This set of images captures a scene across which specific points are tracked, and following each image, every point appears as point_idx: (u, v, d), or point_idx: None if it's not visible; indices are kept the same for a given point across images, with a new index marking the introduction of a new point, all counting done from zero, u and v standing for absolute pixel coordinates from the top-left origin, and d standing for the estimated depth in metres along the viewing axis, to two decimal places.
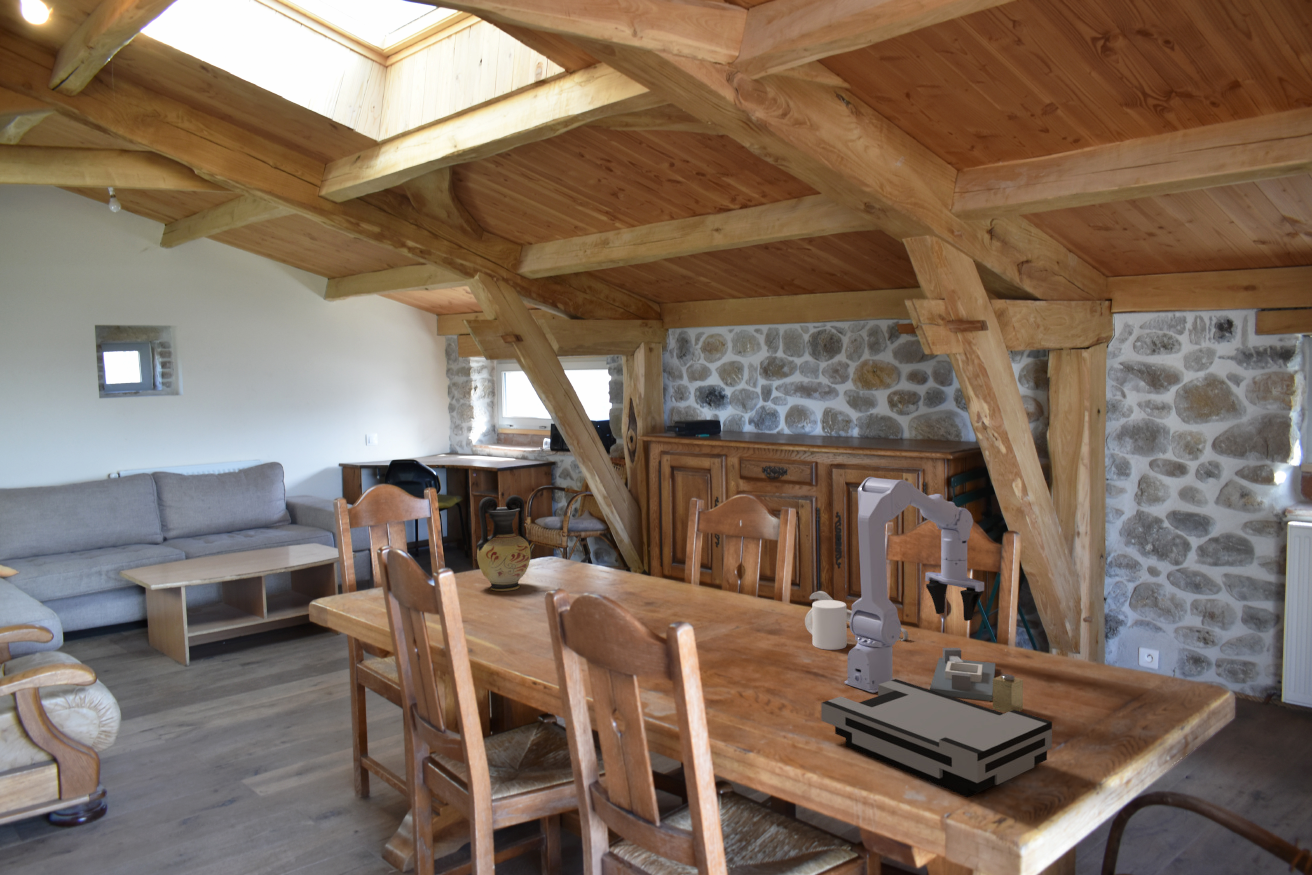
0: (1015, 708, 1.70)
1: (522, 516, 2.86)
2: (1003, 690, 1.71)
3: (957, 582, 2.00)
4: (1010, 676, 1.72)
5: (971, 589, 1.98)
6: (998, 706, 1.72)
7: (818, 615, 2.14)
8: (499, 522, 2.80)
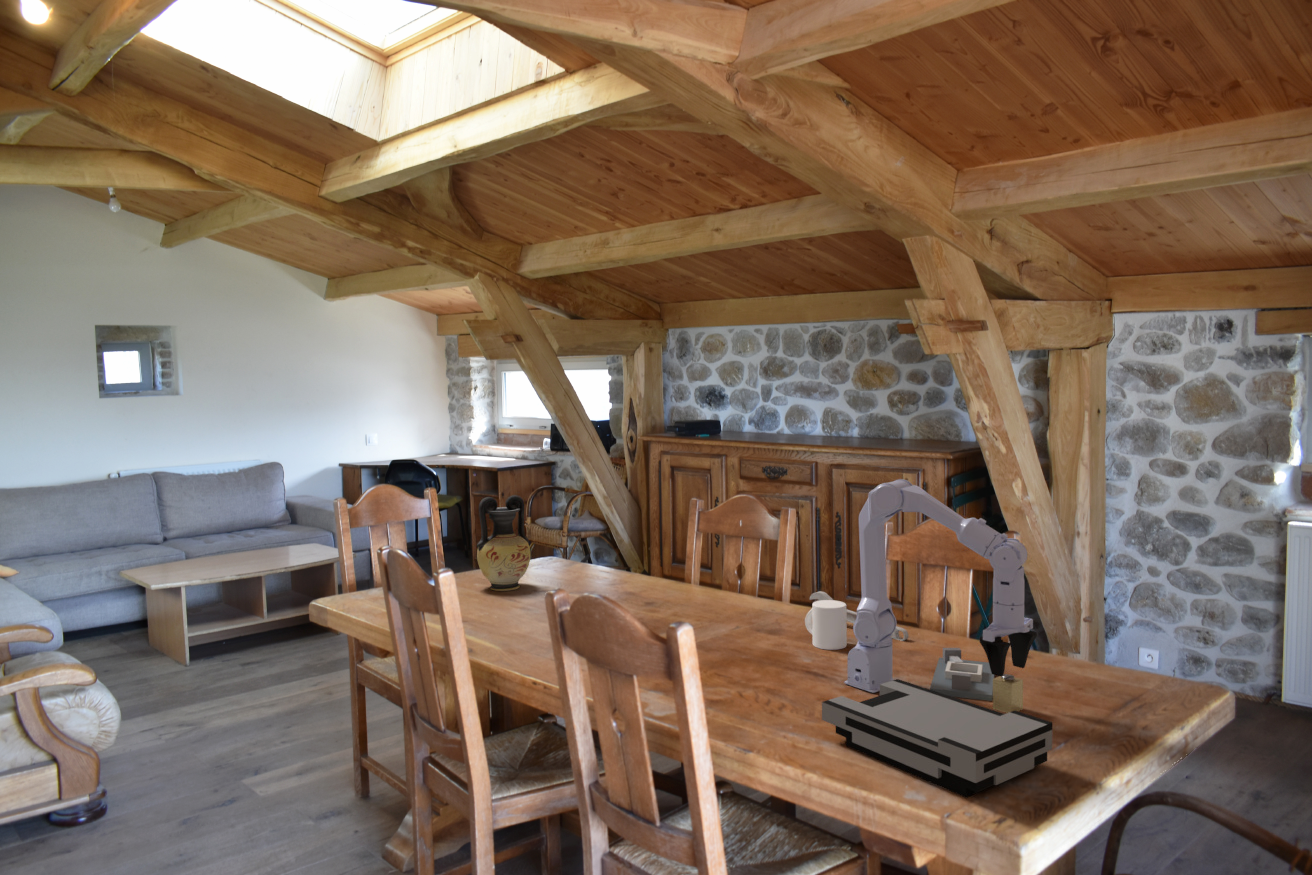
0: (1015, 708, 1.70)
1: (522, 516, 2.86)
2: (1003, 690, 1.71)
3: None
4: (1010, 676, 1.72)
5: None
6: (998, 706, 1.72)
7: (818, 615, 2.14)
8: (499, 522, 2.80)
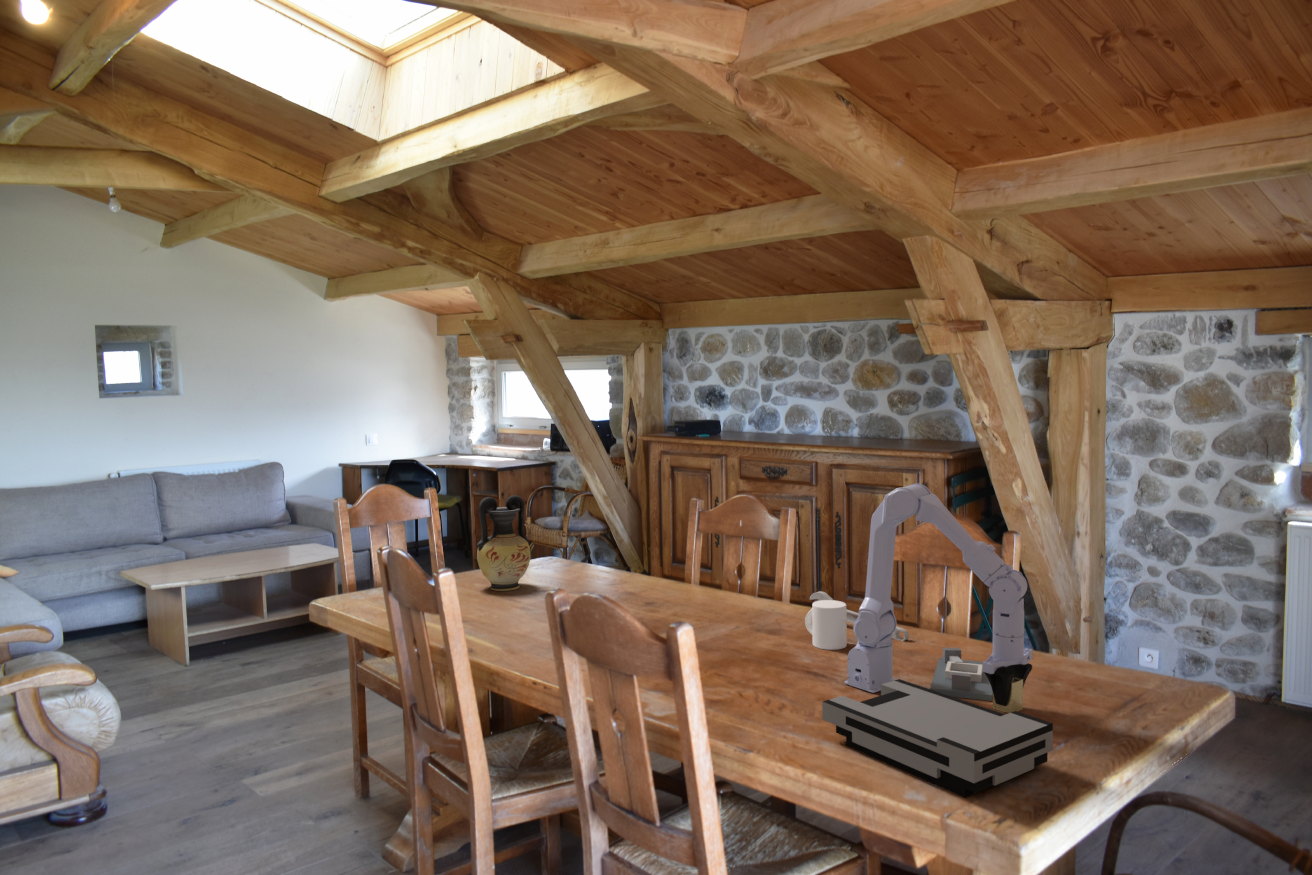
0: (1015, 708, 1.70)
1: (522, 516, 2.86)
2: None
3: None
4: None
5: None
6: (998, 706, 1.72)
7: (818, 615, 2.14)
8: (499, 522, 2.80)
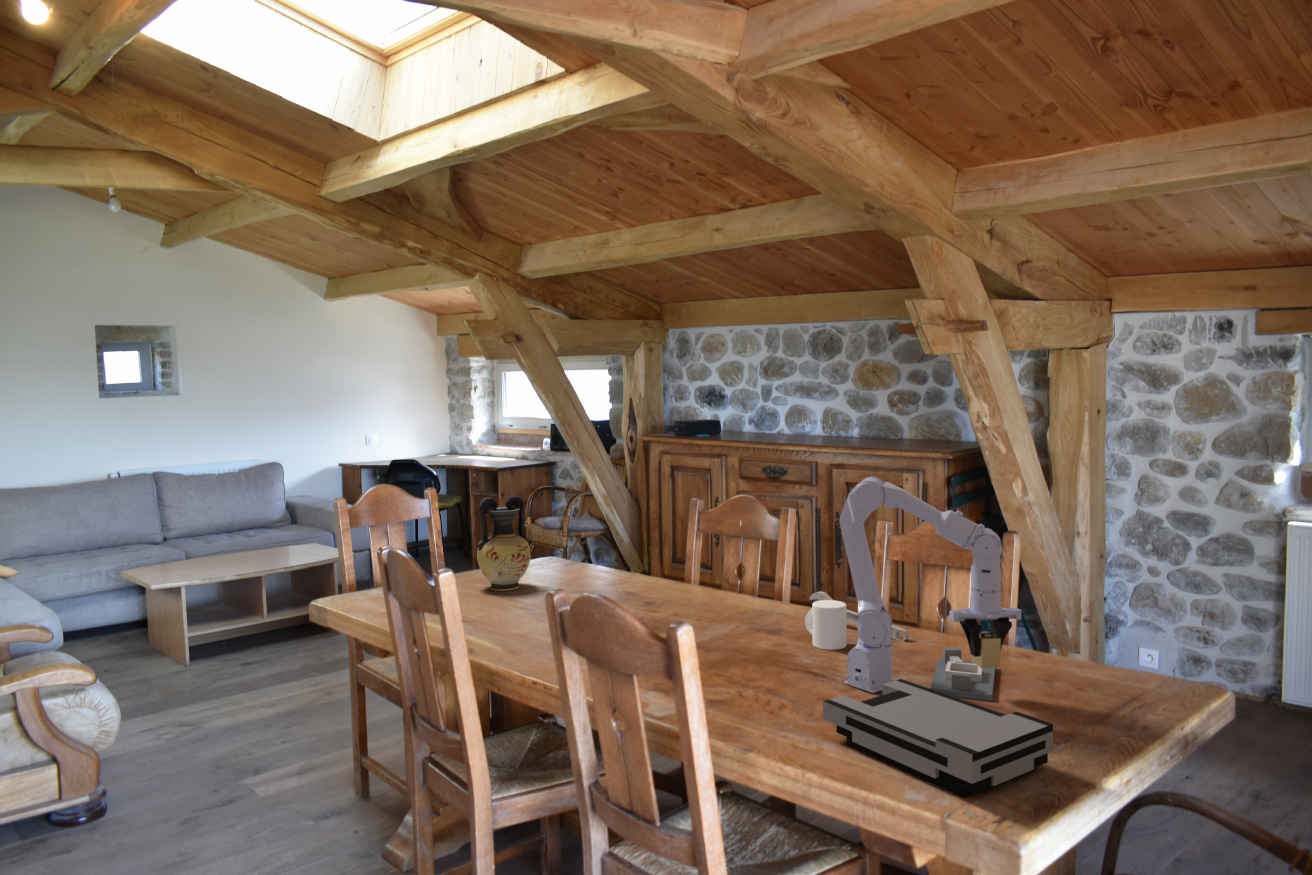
0: (987, 663, 1.78)
1: (522, 516, 2.86)
2: None
3: None
4: (988, 633, 1.79)
5: None
6: (974, 659, 1.80)
7: (818, 615, 2.14)
8: (499, 522, 2.80)
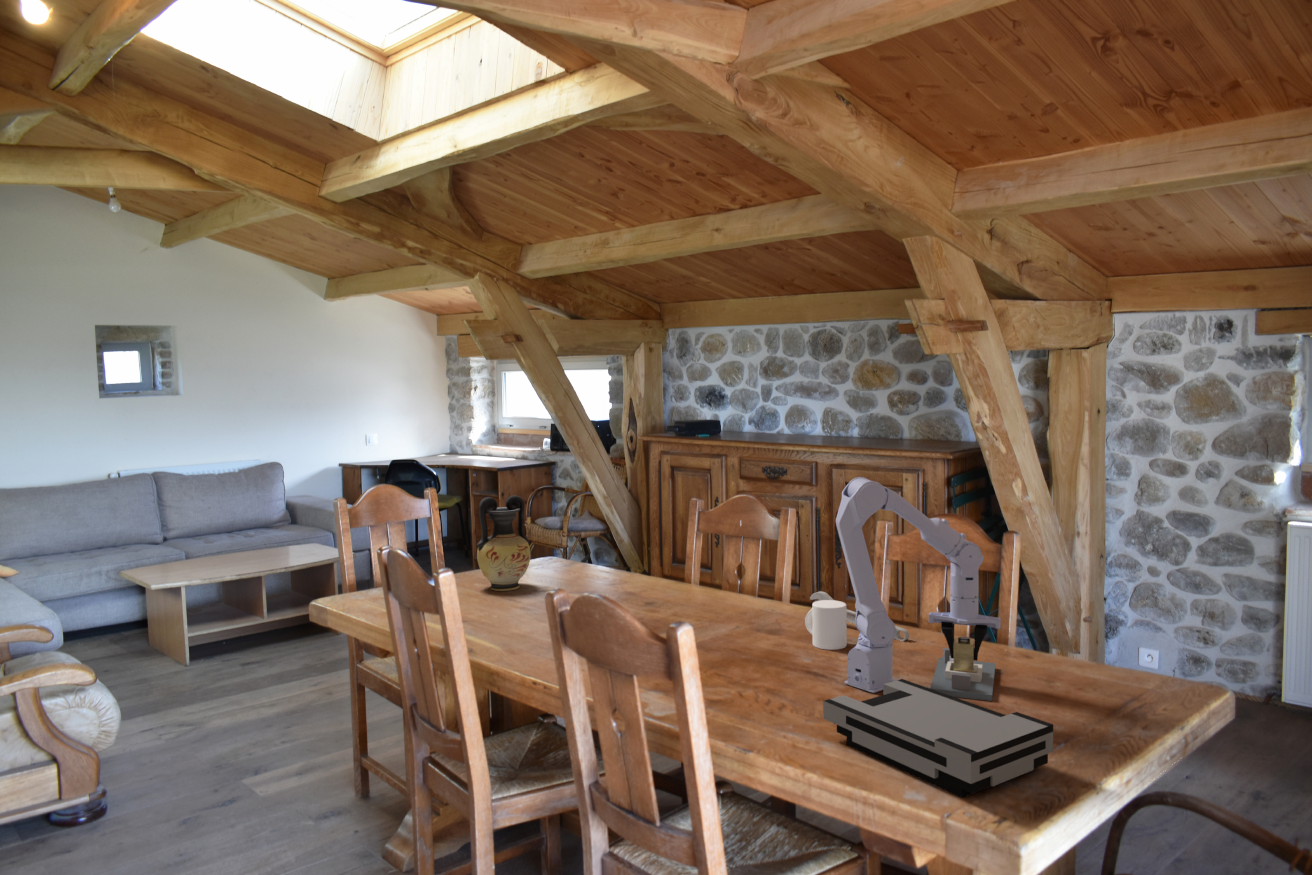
0: (960, 667, 1.87)
1: (522, 516, 2.86)
2: None
3: None
4: (964, 639, 1.87)
5: None
6: None
7: (818, 615, 2.14)
8: (499, 522, 2.80)
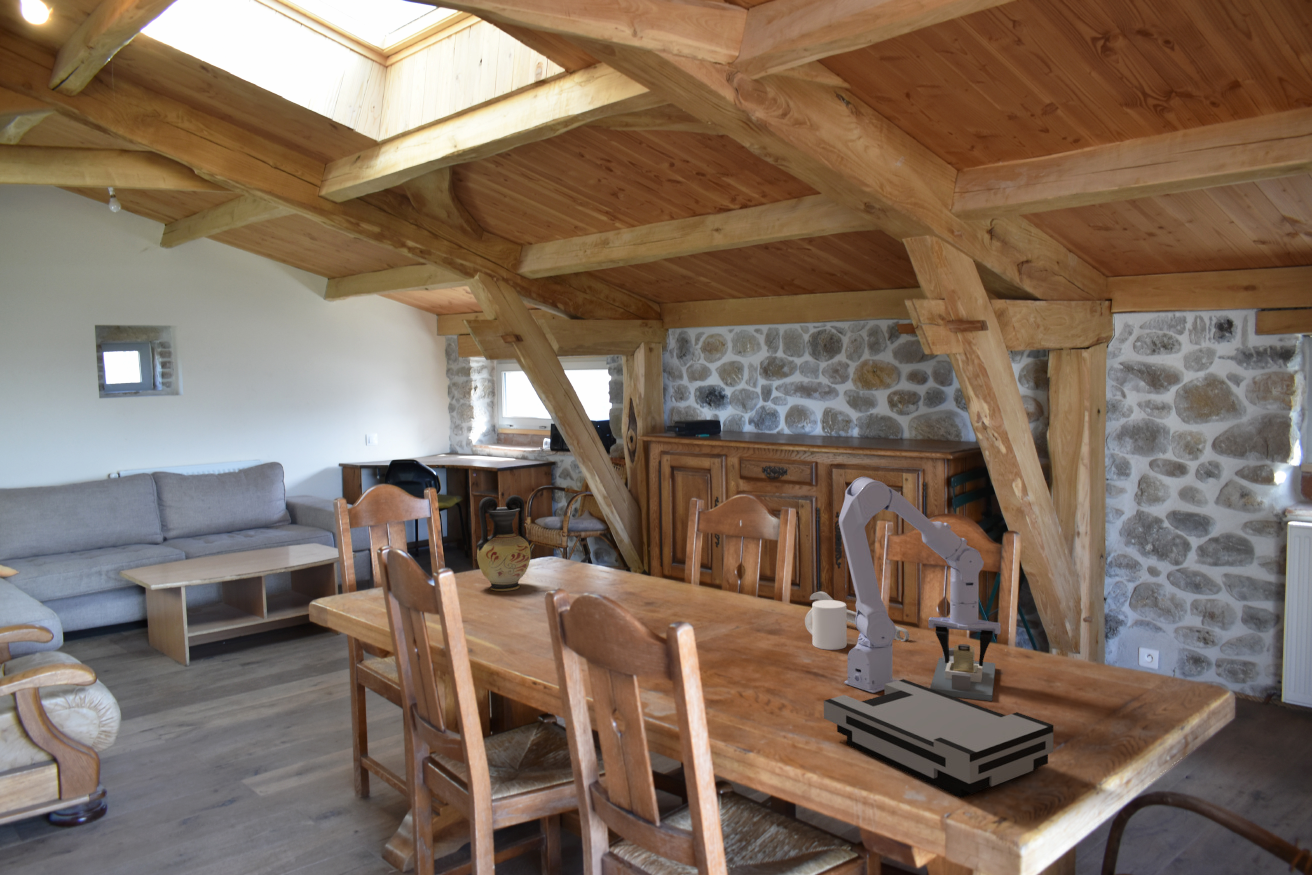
0: None
1: (522, 516, 2.86)
2: None
3: None
4: (964, 646, 1.88)
5: None
6: None
7: (818, 615, 2.14)
8: (499, 522, 2.80)
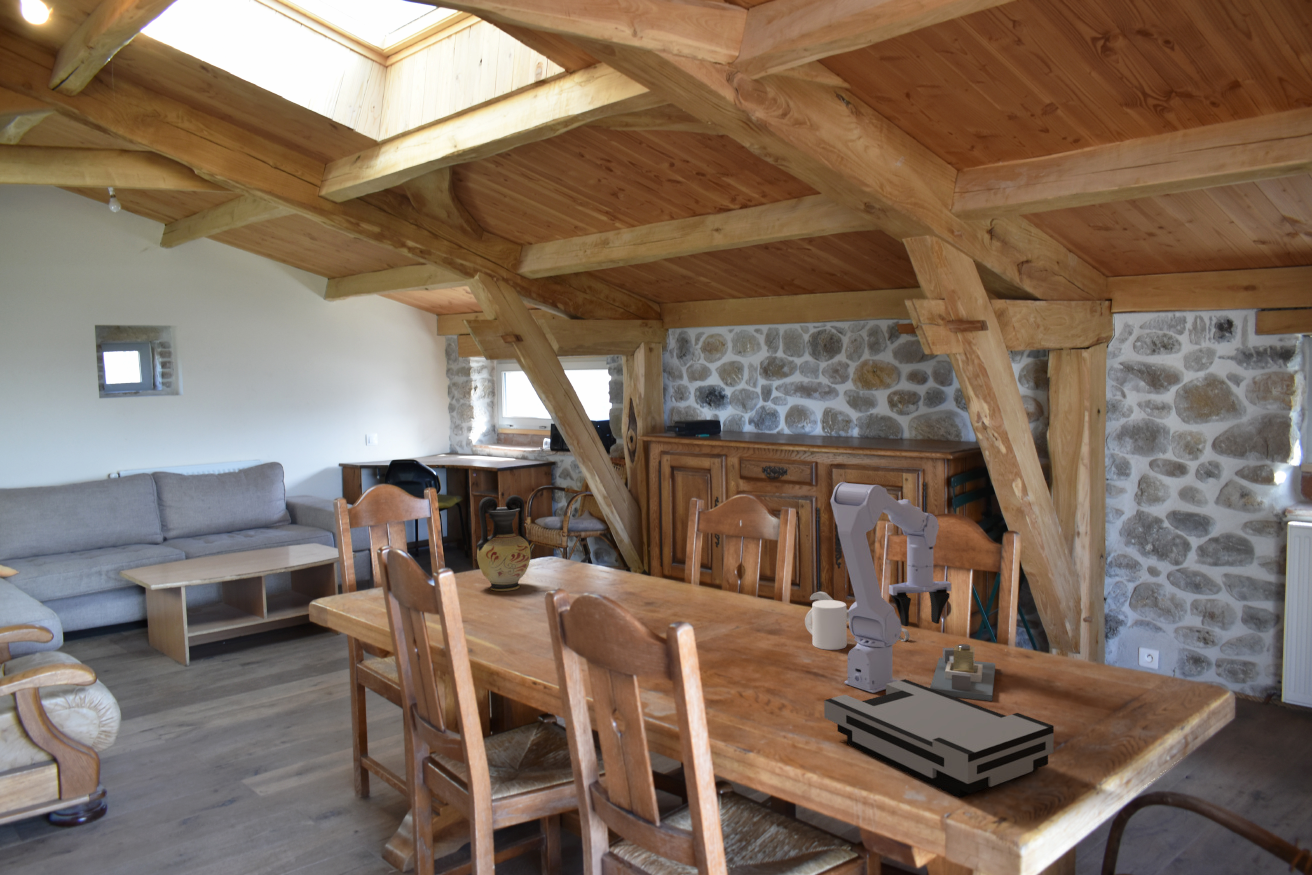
0: None
1: (522, 516, 2.86)
2: None
3: None
4: (964, 646, 1.88)
5: None
6: None
7: (818, 615, 2.14)
8: (499, 522, 2.80)
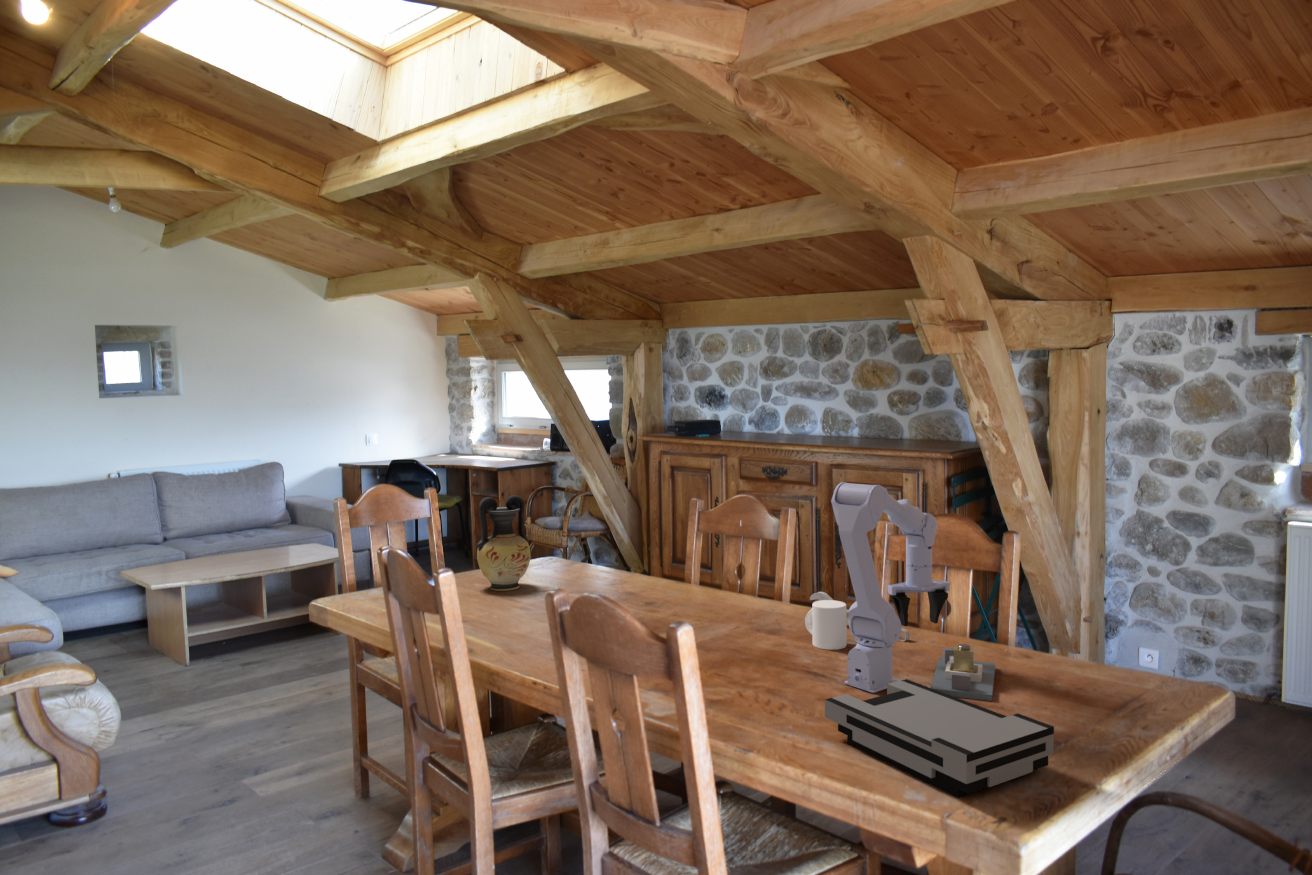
0: None
1: (522, 516, 2.86)
2: None
3: None
4: (964, 646, 1.88)
5: None
6: None
7: (818, 615, 2.14)
8: (499, 522, 2.80)
